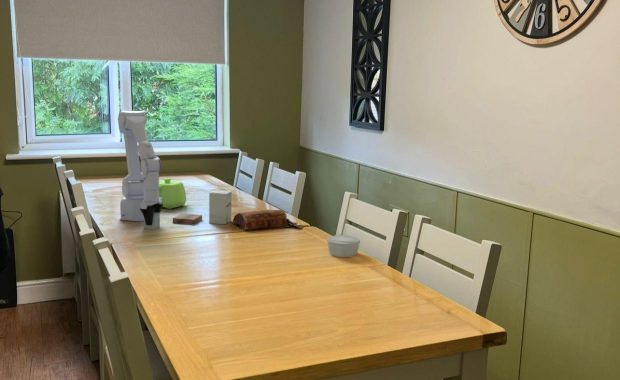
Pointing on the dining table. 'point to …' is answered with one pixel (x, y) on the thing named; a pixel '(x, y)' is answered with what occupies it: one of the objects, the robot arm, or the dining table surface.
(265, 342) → the dining table surface
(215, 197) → the supplement box
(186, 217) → the walnut slab
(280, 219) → the cured meat
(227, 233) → the dining table surface
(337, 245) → the ramekin
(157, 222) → the pale grey block
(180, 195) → the teapot
